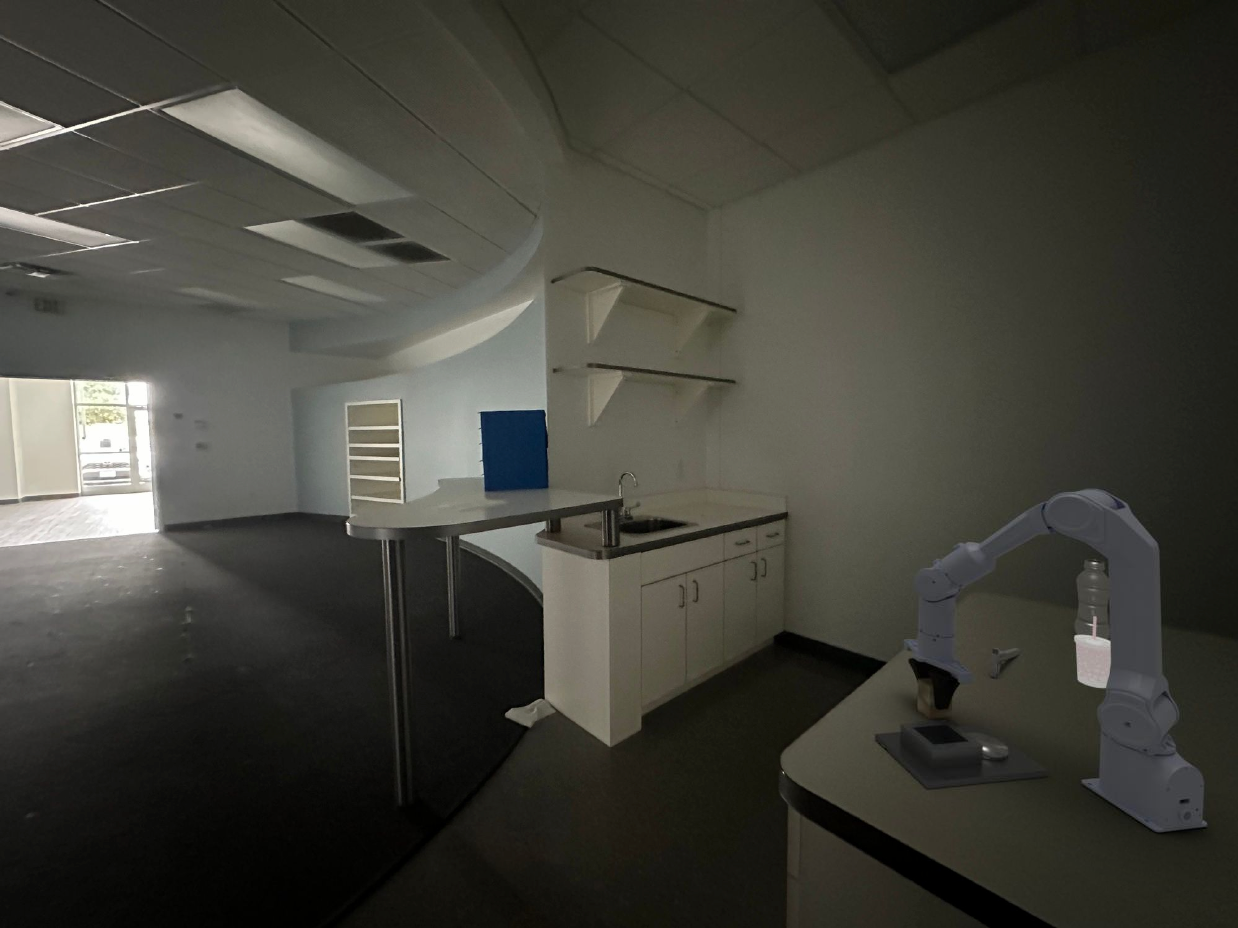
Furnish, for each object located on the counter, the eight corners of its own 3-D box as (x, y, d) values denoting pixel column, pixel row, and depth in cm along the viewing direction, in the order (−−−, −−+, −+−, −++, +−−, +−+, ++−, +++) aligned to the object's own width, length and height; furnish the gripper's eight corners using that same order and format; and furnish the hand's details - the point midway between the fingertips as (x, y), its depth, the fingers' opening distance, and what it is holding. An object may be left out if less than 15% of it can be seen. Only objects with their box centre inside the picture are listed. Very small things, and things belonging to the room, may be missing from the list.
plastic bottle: (1083, 643, 122) (1086, 563, 121) (1068, 633, 129) (1070, 557, 128) (1116, 646, 121) (1119, 565, 120) (1098, 635, 127) (1101, 558, 126)
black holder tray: (1048, 776, 75) (1049, 750, 75) (927, 788, 72) (927, 762, 72) (981, 730, 87) (981, 707, 86) (875, 739, 84) (875, 716, 84)
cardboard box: (951, 716, 91) (952, 684, 91) (929, 718, 90) (930, 686, 90) (939, 708, 94) (939, 677, 94) (917, 709, 93) (918, 678, 93)
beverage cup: (1117, 692, 99) (1120, 624, 98) (1076, 685, 102) (1079, 618, 101) (1107, 679, 104) (1110, 614, 103) (1069, 673, 107) (1071, 609, 107)
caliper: (995, 680, 105) (996, 651, 105) (989, 678, 106) (990, 649, 106) (1020, 653, 118) (1021, 627, 118) (1015, 651, 119) (1016, 626, 118)
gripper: (890, 618, 98) (888, 685, 99) (947, 649, 84) (945, 727, 84) (922, 616, 99) (921, 682, 100) (984, 646, 85) (982, 723, 85)
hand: (934, 703), depth 92 cm, fingers closed on cardboard box, 3 cm apart
